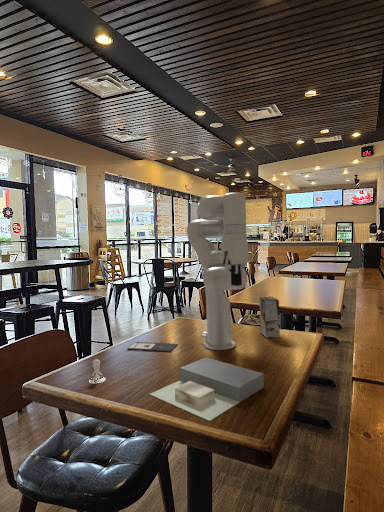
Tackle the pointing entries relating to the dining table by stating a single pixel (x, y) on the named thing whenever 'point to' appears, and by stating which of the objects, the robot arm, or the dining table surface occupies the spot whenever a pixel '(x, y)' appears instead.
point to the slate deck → (223, 378)
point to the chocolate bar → (153, 347)
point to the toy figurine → (95, 364)
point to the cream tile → (194, 393)
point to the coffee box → (269, 317)
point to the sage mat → (205, 411)
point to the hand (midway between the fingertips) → (236, 285)
